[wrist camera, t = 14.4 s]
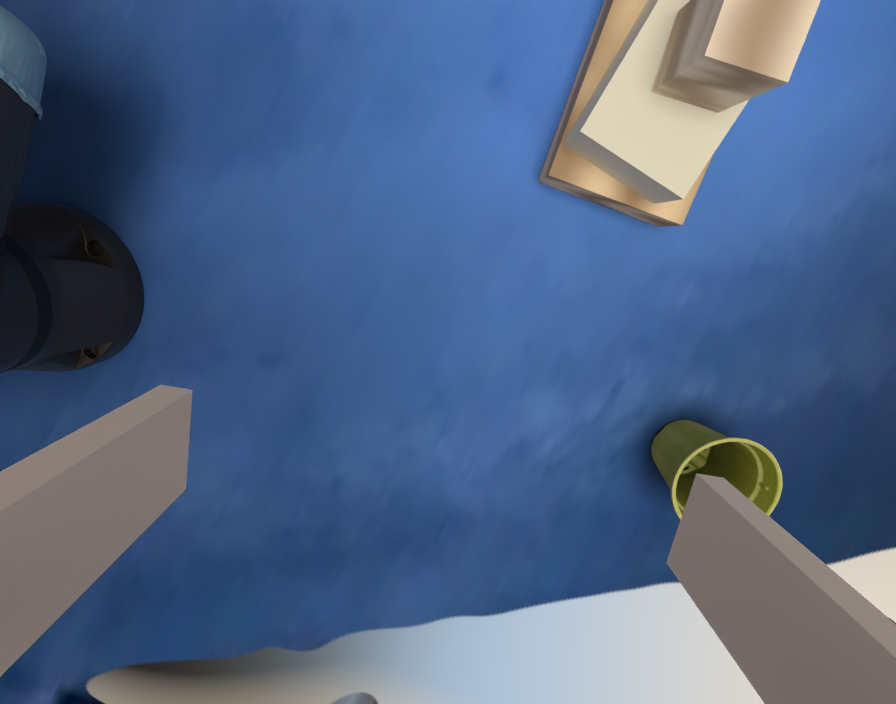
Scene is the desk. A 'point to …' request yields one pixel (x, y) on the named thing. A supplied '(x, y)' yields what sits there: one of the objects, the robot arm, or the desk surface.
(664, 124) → the middle block
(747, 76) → the ash block
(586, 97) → the bottom block
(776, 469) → the plant pot
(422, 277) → the desk surface
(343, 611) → the desk surface
